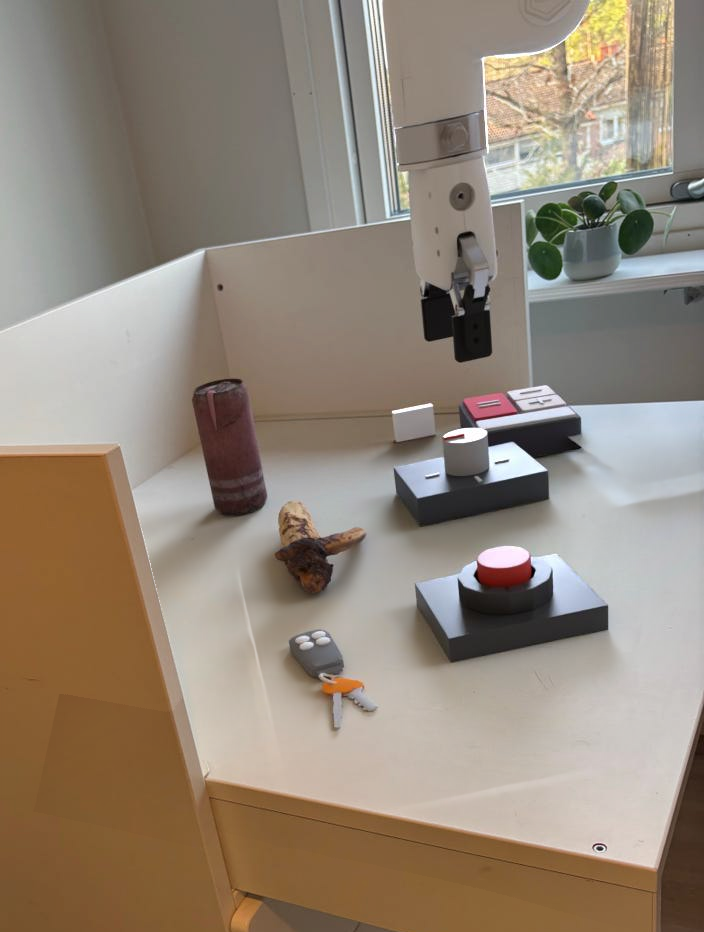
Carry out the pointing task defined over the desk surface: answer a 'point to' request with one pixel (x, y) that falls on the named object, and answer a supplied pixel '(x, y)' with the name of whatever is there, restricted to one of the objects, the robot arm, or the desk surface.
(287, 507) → the brown gnarled root
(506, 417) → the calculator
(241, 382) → the can
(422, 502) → the dial panel
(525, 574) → the power button
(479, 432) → the knob
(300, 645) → the key chain
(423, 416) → the eraser
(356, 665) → the desk surface
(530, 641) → the button base
